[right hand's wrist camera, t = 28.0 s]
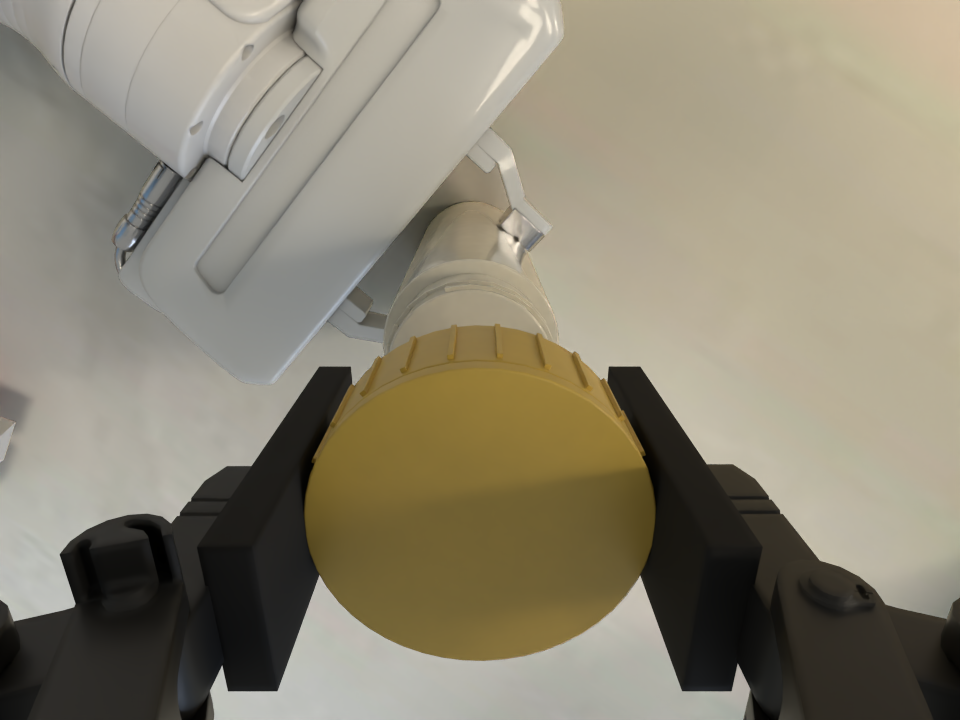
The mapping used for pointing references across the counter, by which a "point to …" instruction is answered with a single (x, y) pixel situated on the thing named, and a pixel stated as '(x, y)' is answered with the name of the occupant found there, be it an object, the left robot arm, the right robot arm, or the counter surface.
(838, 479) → the counter surface
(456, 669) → the counter surface
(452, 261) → the jar
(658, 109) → the counter surface
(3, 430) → the toy
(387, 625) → the lid
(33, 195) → the counter surface
